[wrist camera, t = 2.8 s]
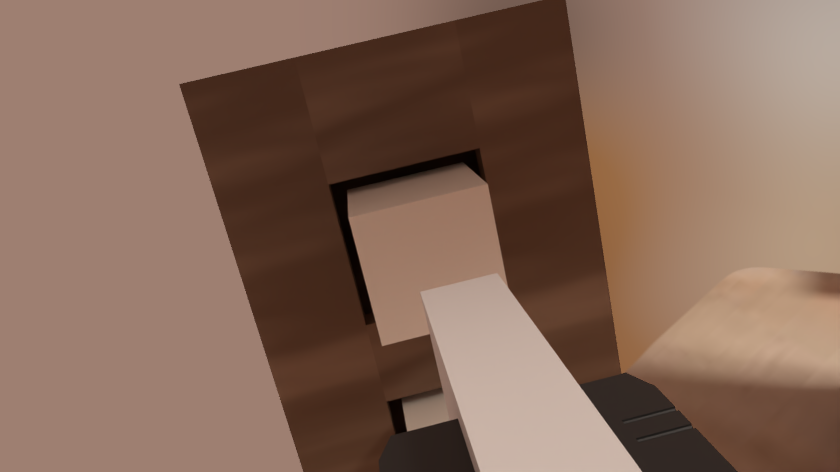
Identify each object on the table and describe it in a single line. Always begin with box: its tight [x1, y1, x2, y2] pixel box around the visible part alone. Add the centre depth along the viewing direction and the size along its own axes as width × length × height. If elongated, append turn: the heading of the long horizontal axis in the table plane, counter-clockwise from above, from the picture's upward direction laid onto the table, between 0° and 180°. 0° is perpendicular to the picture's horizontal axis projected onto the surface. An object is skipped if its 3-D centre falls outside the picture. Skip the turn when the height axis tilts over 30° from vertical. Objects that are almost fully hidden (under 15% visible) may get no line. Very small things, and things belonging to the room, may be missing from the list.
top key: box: [347, 162, 508, 346], centre depth 21 cm, size 4×4×4 cm
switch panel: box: [180, 0, 621, 472], centre depth 27 cm, size 5×12×31 cm, turn 97°
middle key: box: [401, 387, 450, 431], centre depth 23 cm, size 4×4×4 cm
